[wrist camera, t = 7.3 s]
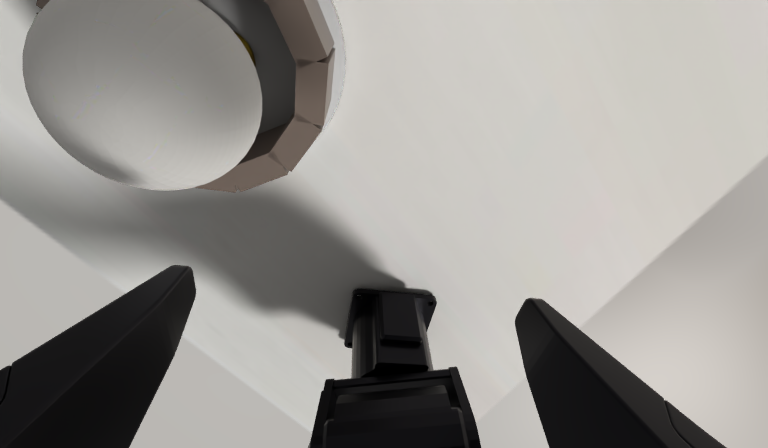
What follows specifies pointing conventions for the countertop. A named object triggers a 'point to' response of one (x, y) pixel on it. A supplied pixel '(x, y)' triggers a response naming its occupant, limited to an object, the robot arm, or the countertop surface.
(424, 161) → the countertop surface
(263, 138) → the socket
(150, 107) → the light bulb
